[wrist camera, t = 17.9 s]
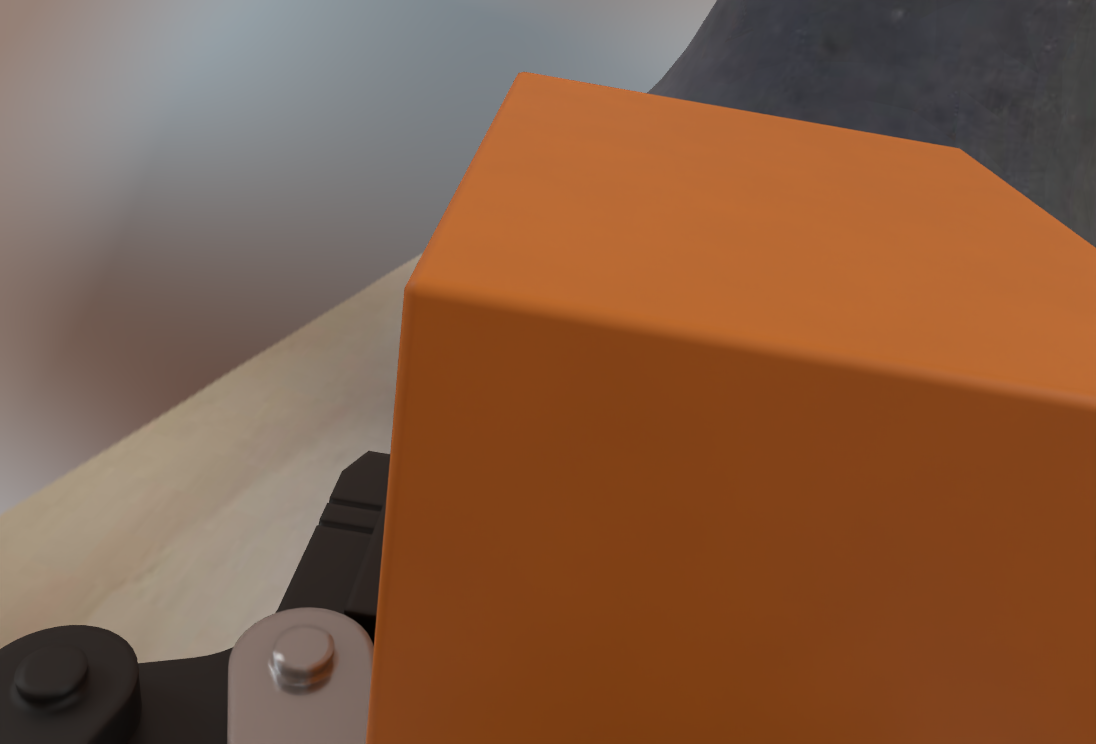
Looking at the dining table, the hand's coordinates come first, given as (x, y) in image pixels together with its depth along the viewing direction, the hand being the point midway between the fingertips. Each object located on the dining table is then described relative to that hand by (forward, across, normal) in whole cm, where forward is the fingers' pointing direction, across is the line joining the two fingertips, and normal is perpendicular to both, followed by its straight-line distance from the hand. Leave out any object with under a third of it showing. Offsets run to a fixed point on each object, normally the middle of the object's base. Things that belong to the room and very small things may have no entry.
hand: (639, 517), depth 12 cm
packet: (-3, 0, +7) cm, 7 cm away
